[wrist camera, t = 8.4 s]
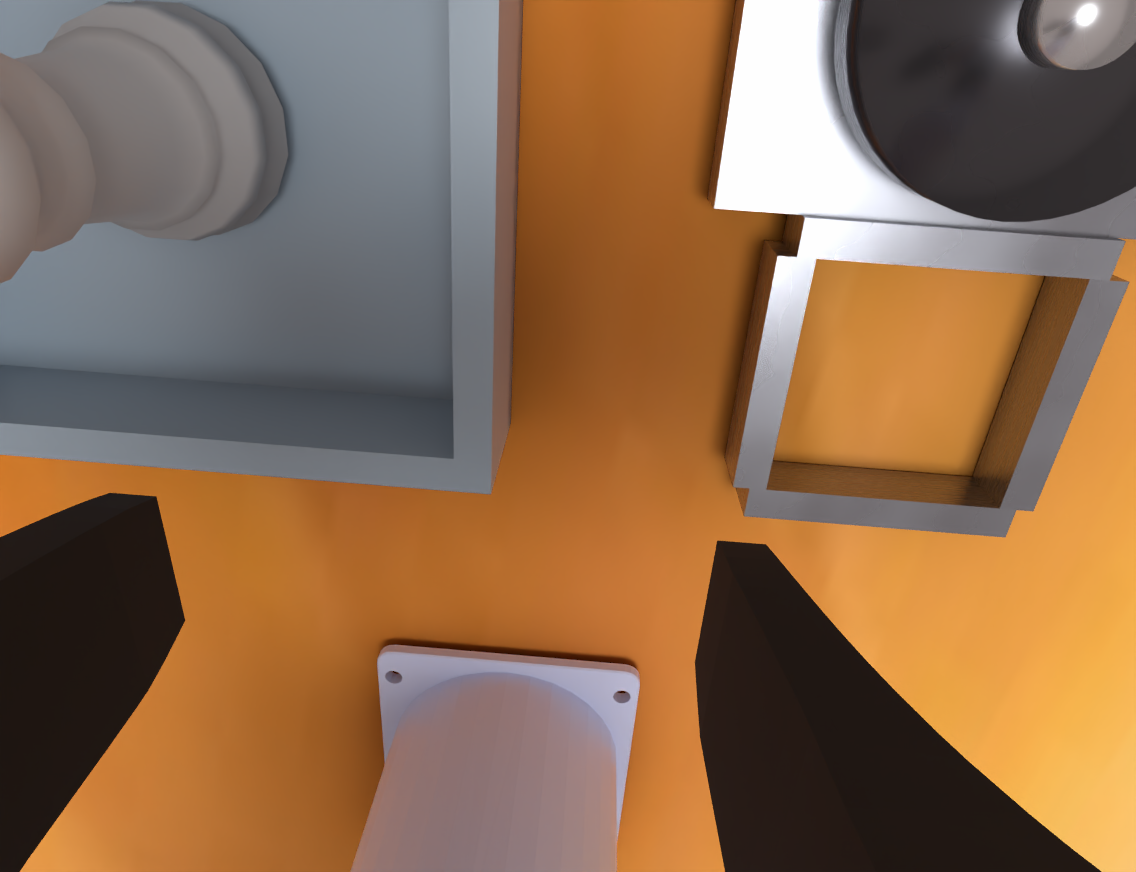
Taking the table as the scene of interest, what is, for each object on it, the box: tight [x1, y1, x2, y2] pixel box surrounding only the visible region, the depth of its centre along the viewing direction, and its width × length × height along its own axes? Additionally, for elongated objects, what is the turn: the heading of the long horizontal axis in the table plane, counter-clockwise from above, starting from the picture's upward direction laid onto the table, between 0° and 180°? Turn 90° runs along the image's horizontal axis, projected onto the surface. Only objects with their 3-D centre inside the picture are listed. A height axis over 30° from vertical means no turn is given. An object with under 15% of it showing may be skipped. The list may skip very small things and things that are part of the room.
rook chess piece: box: [0, 0, 288, 283], centre depth 12 cm, size 4×4×8 cm
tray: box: [0, 0, 523, 494], centre depth 14 cm, size 14×14×4 cm
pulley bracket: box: [707, 0, 1136, 537], centre depth 14 cm, size 15×10×4 cm
